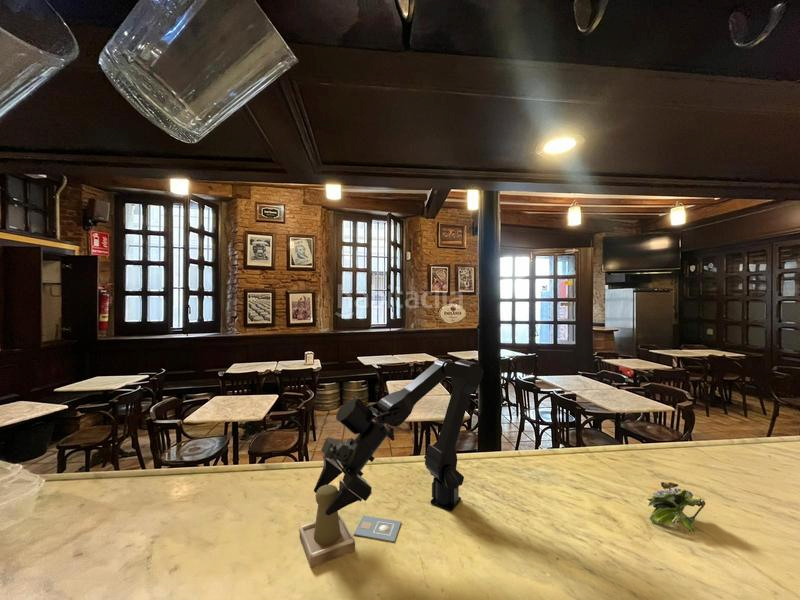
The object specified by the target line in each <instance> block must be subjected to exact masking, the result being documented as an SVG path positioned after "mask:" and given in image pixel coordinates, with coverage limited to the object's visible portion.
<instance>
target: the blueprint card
mask: <svg viewBox="0 0 800 600" xmlns="http://www.w3.org/2000/svg"><path fill="white" fill-rule="evenodd" d="M401 525H402V521H400V520H393V519H389V518H382V517H375V516H370V515H362V517H361V519H360V520H359V523H358V525H357V527H356V528H355V531H354V532H353V534H352V536H355V537H361V538H367V539H373V540H378V541H384V542H389V543H395V541H396V539H397V536H398V533H399V530H400V528H401Z"/></svg>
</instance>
